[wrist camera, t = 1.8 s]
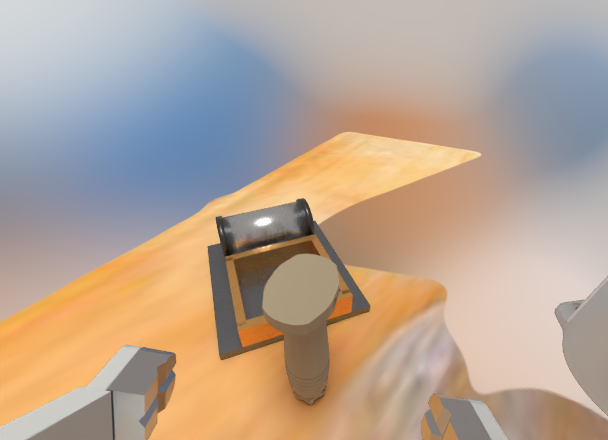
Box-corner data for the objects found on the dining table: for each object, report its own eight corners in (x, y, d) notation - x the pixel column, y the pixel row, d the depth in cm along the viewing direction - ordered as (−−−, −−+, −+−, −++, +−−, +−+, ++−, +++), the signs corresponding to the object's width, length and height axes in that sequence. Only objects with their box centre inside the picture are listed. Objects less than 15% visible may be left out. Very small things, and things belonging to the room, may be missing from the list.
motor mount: (314, 224, 51) (313, 187, 47) (369, 311, 36) (375, 268, 32) (208, 250, 47) (197, 212, 43) (221, 360, 32) (205, 318, 28)
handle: (342, 367, 31) (348, 263, 22) (320, 434, 26) (317, 335, 17) (300, 351, 32) (290, 248, 24) (272, 411, 28) (247, 309, 19)
